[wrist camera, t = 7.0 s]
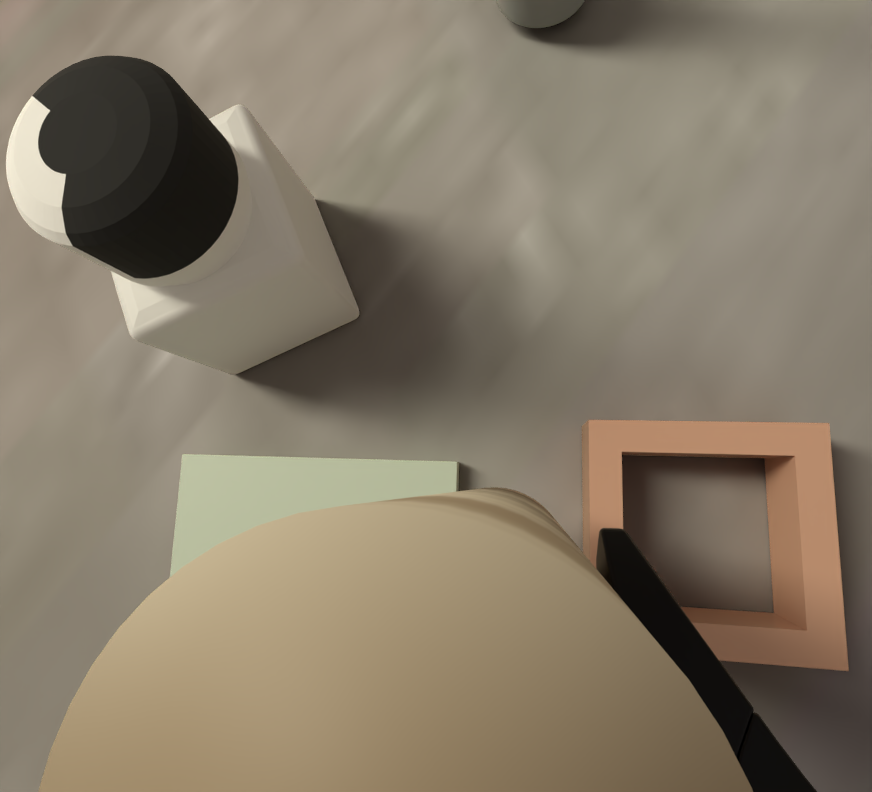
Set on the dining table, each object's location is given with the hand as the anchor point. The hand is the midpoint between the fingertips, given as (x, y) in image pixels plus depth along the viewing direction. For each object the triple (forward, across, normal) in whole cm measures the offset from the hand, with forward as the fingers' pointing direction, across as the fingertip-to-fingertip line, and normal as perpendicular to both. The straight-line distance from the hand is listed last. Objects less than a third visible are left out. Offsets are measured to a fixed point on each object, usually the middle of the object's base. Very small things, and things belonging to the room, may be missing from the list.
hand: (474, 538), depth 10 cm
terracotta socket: (+9, -8, +10) cm, 15 cm away
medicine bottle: (+17, +11, +2) cm, 21 cm away
